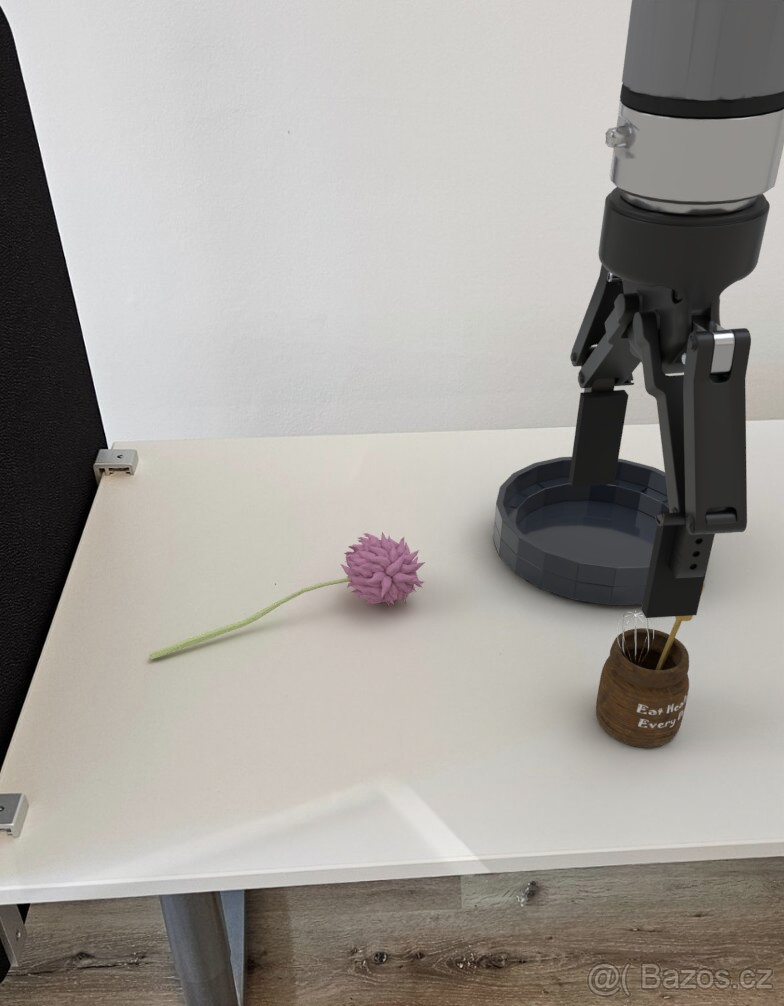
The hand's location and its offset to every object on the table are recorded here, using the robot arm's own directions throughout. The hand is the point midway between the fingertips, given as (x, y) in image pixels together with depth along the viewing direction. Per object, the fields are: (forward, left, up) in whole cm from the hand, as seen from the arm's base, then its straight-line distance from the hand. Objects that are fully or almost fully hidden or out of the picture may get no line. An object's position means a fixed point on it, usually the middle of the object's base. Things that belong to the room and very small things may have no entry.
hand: (626, 542), depth 64 cm
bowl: (+1, -29, -20) cm, 36 cm away
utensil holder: (-3, -7, -21) cm, 22 cm away
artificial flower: (+25, -11, -21) cm, 34 cm away
